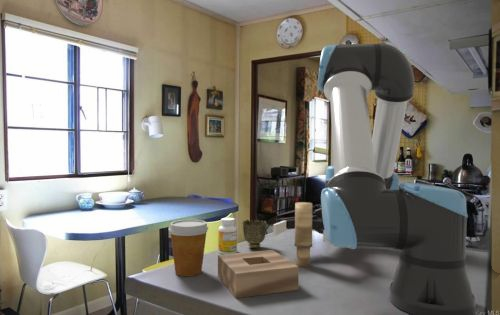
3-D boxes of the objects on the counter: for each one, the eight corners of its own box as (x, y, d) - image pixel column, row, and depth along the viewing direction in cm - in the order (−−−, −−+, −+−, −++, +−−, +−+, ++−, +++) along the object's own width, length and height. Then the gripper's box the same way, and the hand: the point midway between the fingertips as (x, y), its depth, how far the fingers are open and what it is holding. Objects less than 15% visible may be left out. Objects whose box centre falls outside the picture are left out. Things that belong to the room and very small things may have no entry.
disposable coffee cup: (204, 264, 98) (204, 218, 98) (211, 276, 89) (211, 225, 89) (166, 268, 95) (166, 220, 95) (170, 280, 86) (170, 228, 86)
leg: (315, 266, 97) (316, 204, 96) (299, 268, 95) (299, 205, 95) (306, 261, 101) (307, 201, 101) (291, 263, 100) (291, 202, 99)
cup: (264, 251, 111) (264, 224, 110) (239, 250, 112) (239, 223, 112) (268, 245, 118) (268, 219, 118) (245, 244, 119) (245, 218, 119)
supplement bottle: (219, 249, 113) (219, 216, 113) (237, 249, 113) (237, 217, 112) (217, 254, 108) (217, 220, 107) (236, 254, 107) (236, 220, 107)
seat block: (298, 289, 81) (298, 266, 81) (235, 298, 76) (235, 273, 76) (272, 269, 94) (272, 249, 94) (217, 276, 90) (217, 254, 89)
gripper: (369, 237, 107) (347, 255, 89) (288, 227, 120) (255, 241, 102) (369, 210, 107) (348, 223, 89) (288, 203, 120) (255, 213, 102)
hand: (298, 232), depth 95 cm, fingers open, 13 cm apart
